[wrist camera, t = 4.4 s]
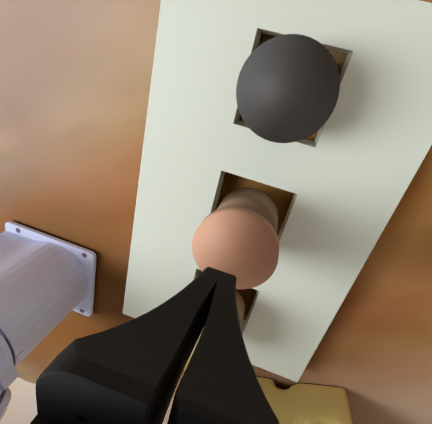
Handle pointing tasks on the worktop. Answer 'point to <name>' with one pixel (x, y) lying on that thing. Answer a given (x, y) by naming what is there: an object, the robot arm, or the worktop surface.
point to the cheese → (307, 403)
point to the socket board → (280, 156)
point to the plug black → (287, 88)
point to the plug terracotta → (240, 238)
